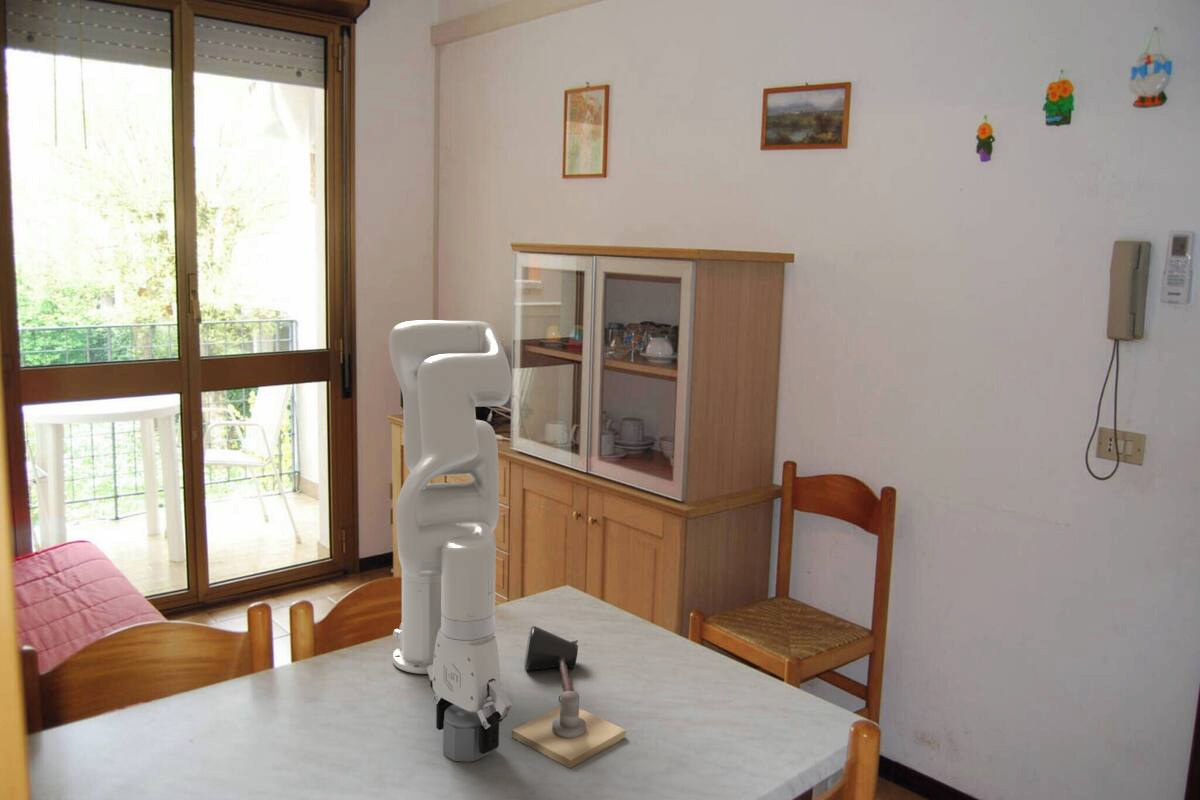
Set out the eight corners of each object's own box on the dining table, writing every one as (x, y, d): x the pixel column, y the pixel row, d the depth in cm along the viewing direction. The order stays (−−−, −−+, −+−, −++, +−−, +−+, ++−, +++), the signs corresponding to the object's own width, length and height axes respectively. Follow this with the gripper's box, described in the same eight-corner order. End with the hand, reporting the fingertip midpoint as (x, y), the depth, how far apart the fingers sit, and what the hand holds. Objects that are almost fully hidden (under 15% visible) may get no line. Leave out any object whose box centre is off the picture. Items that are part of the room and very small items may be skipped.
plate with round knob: (511, 737, 137) (512, 695, 136) (567, 709, 146) (568, 670, 145) (570, 768, 129) (571, 723, 128) (625, 737, 138) (627, 695, 137)
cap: (435, 749, 133) (435, 712, 132) (469, 733, 138) (469, 697, 137) (463, 766, 129) (464, 728, 128) (498, 749, 134) (498, 712, 133)
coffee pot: (524, 654, 165) (571, 661, 166) (520, 715, 148) (572, 722, 149) (531, 617, 163) (579, 624, 164) (528, 674, 146) (581, 682, 147)
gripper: (409, 614, 133) (409, 726, 136) (488, 649, 122) (487, 771, 125) (449, 601, 139) (449, 709, 141) (529, 634, 128) (527, 750, 130)
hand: (467, 737), depth 133 cm, fingers open, 9 cm apart
